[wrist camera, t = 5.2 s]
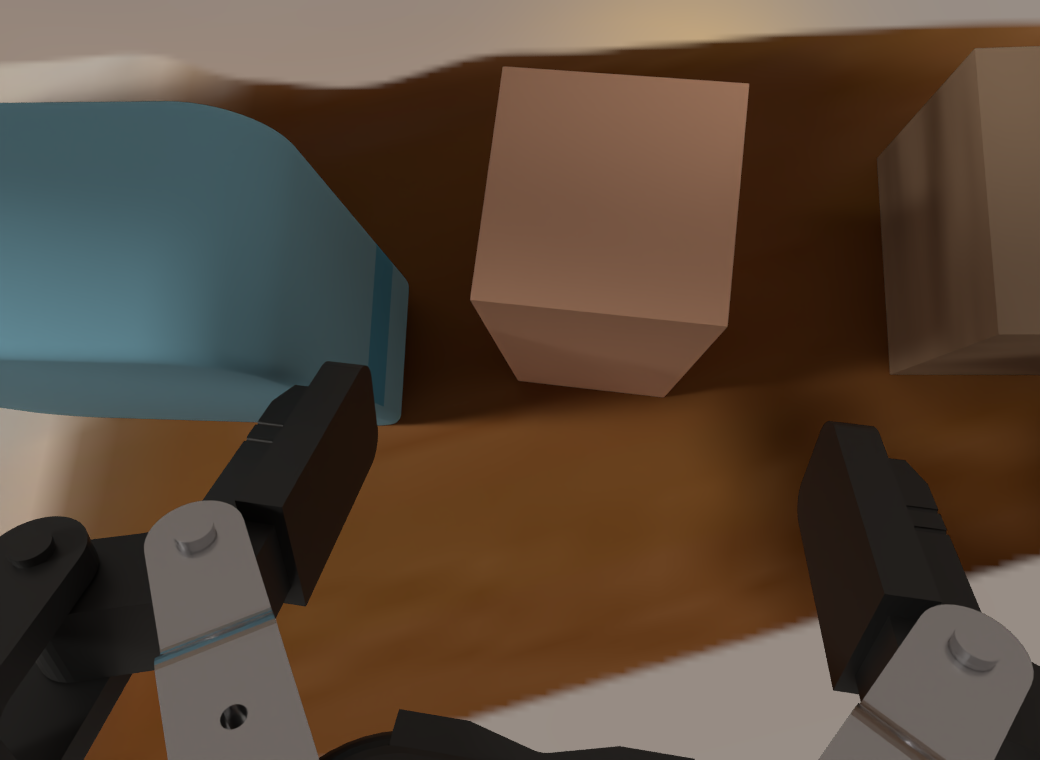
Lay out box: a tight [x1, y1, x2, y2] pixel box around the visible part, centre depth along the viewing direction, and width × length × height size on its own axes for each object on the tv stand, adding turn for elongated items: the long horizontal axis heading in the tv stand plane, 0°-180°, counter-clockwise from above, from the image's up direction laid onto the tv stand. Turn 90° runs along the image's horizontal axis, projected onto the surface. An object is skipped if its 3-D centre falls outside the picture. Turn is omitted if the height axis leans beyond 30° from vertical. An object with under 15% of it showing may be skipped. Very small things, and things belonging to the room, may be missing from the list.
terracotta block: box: [470, 66, 749, 397], centre depth 18 cm, size 5×5×10 cm
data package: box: [0, 101, 409, 425], centre depth 18 cm, size 12×4×12 cm, turn 88°
